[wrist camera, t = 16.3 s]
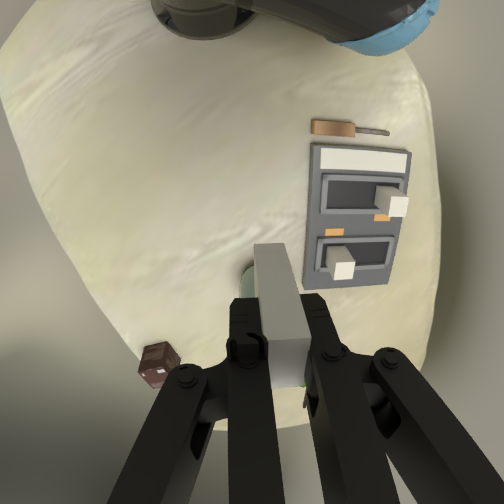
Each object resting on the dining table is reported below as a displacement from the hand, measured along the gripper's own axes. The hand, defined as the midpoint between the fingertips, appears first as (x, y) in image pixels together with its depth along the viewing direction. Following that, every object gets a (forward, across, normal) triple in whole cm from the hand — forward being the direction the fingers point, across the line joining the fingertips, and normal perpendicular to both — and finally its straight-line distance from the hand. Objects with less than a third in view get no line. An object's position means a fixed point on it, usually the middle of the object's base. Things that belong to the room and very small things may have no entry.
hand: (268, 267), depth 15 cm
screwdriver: (+30, +15, +4) cm, 34 cm away
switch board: (+29, +17, -10) cm, 35 cm away
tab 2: (+27, +20, -5) cm, 34 cm away
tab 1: (+27, +13, -15) cm, 34 cm away
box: (+30, -19, -39) cm, 53 cm away
